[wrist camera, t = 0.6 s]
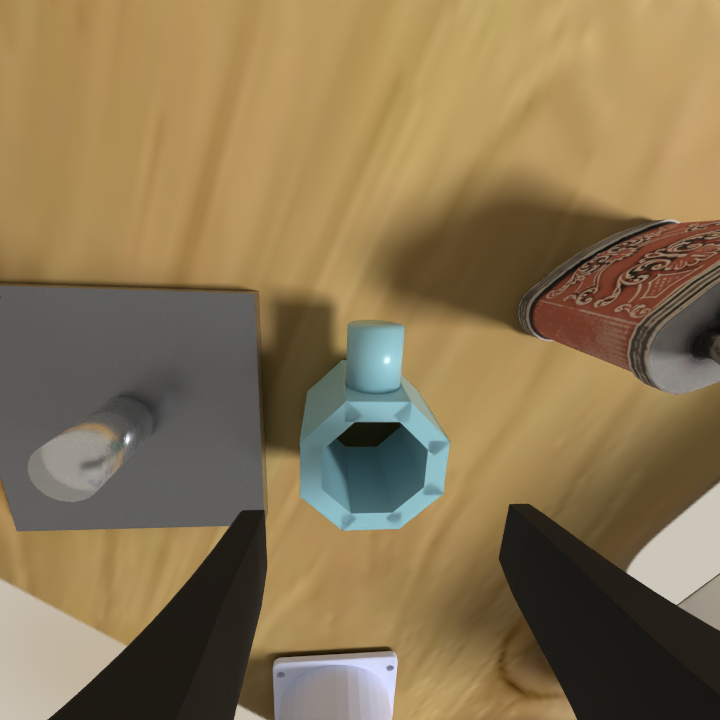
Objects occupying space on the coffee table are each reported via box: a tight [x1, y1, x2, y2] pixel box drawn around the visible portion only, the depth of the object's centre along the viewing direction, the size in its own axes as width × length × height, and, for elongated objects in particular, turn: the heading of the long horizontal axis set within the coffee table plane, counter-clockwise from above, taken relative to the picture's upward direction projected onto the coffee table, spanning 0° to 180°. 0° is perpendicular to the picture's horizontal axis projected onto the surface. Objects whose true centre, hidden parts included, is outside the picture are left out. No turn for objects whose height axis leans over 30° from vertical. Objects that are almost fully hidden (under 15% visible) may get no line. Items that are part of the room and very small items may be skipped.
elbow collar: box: [299, 320, 450, 531], centre depth 16 cm, size 8×6×5 cm
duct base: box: [0, 283, 268, 531], centre depth 15 cm, size 12×12×5 cm
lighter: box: [518, 219, 720, 395], centre depth 13 cm, size 8×3×10 cm, turn 121°
